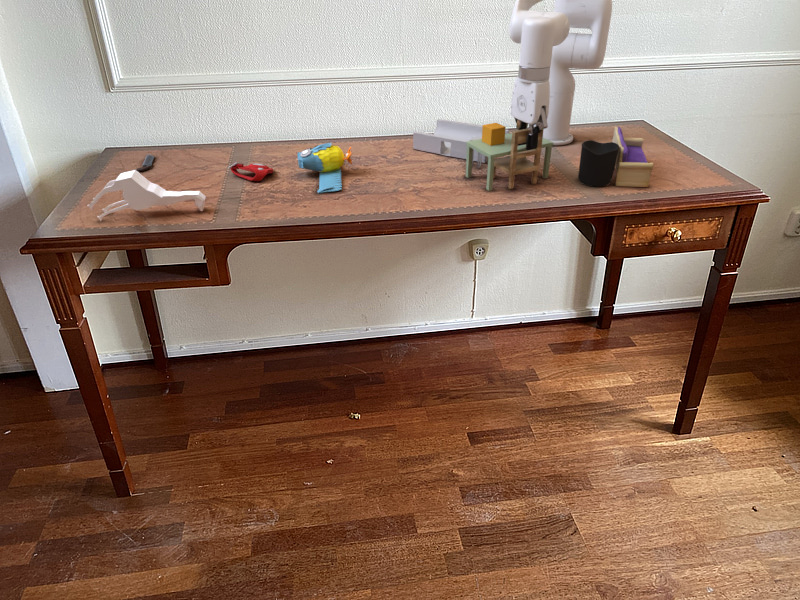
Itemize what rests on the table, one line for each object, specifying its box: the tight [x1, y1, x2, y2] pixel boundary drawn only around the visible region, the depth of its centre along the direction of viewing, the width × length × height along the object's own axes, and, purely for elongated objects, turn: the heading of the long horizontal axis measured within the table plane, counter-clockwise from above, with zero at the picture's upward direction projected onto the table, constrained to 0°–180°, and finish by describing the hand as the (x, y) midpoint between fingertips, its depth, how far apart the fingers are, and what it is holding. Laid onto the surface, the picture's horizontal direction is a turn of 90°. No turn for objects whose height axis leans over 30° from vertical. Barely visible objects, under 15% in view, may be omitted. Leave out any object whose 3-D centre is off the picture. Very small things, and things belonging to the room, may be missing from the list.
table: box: [465, 132, 554, 192], centre depth 165 cm, size 12×20×10 cm, turn 117°
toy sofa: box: [611, 126, 654, 188], centre depth 166 cm, size 21×9×10 cm, turn 169°
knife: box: [135, 153, 155, 173], centre depth 181 cm, size 14×4×1 cm, turn 11°
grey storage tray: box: [412, 118, 510, 169], centre depth 184 cm, size 25×21×8 cm
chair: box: [493, 127, 544, 190], centre depth 161 cm, size 10×9×15 cm
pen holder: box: [577, 139, 619, 188], centre depth 161 cm, size 9×9×10 cm
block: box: [482, 122, 506, 146], centre depth 161 cm, size 4×4×4 cm
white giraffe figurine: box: [87, 169, 207, 222], centre depth 149 cm, size 5×16×25 cm
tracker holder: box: [228, 161, 274, 182], centre depth 170 cm, size 12×4×10 cm
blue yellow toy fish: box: [296, 142, 353, 194], centre depth 170 cm, size 28×9×15 cm
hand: (526, 146), depth 156 cm, fingers open, 3 cm apart
